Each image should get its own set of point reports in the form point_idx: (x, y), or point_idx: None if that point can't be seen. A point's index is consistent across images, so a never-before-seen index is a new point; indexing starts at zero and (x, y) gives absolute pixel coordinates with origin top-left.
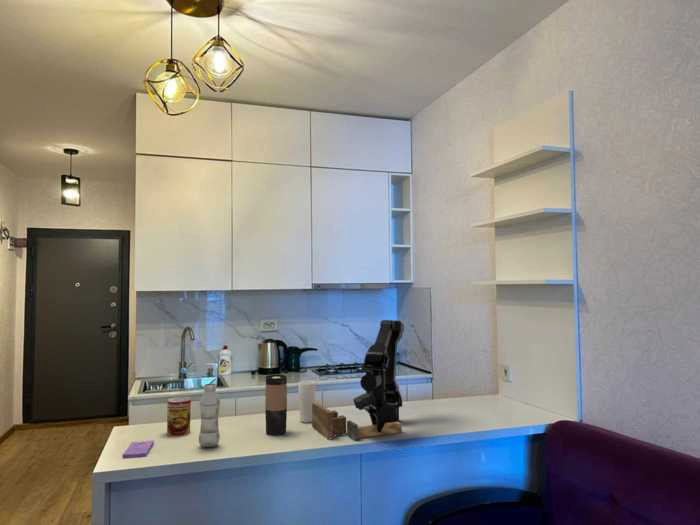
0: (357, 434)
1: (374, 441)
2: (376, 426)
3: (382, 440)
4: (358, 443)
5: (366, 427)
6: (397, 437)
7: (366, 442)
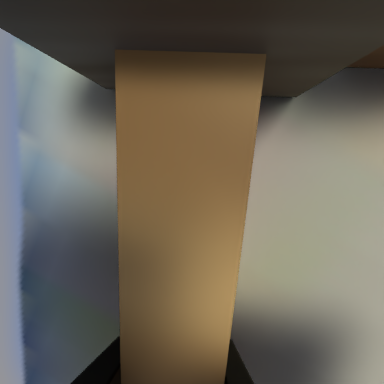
0: (70, 62)
1: (40, 206)
2: (139, 370)
3: (44, 267)
4: (30, 53)
5: (152, 255)
6: (71, 376)
7: (35, 135)
